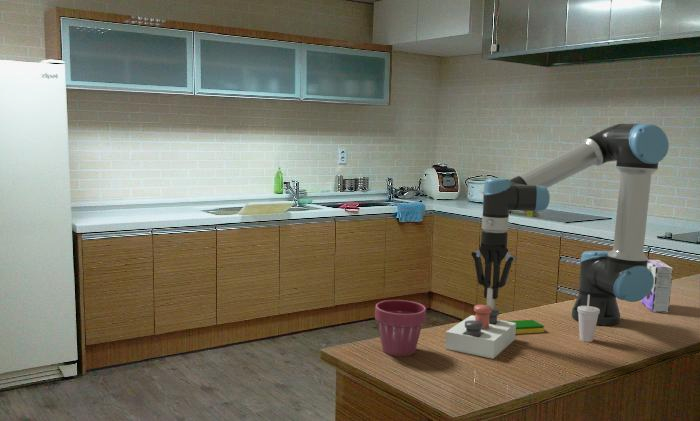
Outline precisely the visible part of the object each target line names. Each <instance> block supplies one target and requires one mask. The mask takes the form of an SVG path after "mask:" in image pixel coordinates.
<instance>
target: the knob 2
mask: <svg viewBox="0 0 700 421" xmlns="http://www.w3.org/2000/svg"><path fill="white" fill-rule="evenodd" d="M499 315H500V310H499V309H498V308H497V307H496V308H495V307H494V309H492V312H491V313H490V318H489V324H493V325H496V324H497V320H498V316H499Z"/></svg>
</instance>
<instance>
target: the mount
mask: <svg viewBox="0 0 700 421" xmlns="http://www.w3.org/2000/svg"><path fill="white" fill-rule="evenodd" d="M469 320H474V321H475V315H472V314H471V315H470V316H468V317H466V318H465V319H463V320H462V321H460V322H458V323H457V324H455V325H454V326H452V327H451V328H450V329H449V328H448V330H446V331H445V346H444V348H445V350H449V351H454V352H458V353H463V354H469V355H474V356H478V357H482V358H483V357H484V358H487V359H492V360H493V359H495V358H496V357H497V356H498V355H499V354H501V353H502V352H503V351H504V350H505V349H506V348H508V346H510V345H511V344H512V343H513V342H514V341H515V340H516V335H517V334H516V323H513V322H507V321H508V320H502V319H501V320H500V319H497V324H496V325H493V324H489V329H481V336H480V337H474V336H469V335H466V328H465V321H469Z"/></svg>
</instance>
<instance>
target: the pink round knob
mask: <svg viewBox="0 0 700 421" xmlns="http://www.w3.org/2000/svg"><path fill="white" fill-rule="evenodd" d="M473 312H475V315H474V316H475V321H480V322H482V323H483V329H489V318H490V313H491V312H492V307H491V306H488V305H487V304H476V305H473Z"/></svg>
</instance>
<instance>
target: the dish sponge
mask: <svg viewBox="0 0 700 421" xmlns="http://www.w3.org/2000/svg"><path fill="white" fill-rule="evenodd" d="M506 321H507V322H513V323H516V334H515V335H518V334H519V335H521V334H534V333H536V334H538V333H544V330H545V325H543V324H541V323H539V322H538V321H536V320H534V319H522V320H506Z"/></svg>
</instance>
